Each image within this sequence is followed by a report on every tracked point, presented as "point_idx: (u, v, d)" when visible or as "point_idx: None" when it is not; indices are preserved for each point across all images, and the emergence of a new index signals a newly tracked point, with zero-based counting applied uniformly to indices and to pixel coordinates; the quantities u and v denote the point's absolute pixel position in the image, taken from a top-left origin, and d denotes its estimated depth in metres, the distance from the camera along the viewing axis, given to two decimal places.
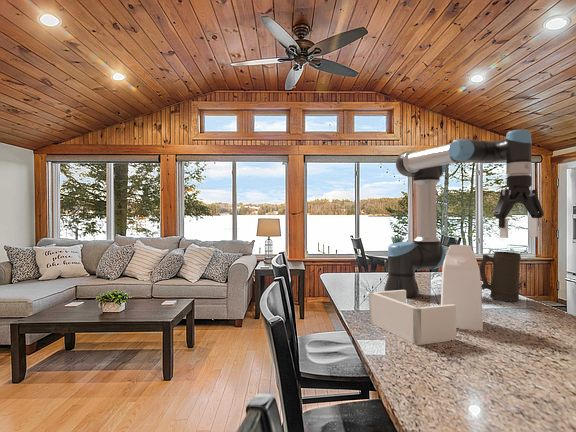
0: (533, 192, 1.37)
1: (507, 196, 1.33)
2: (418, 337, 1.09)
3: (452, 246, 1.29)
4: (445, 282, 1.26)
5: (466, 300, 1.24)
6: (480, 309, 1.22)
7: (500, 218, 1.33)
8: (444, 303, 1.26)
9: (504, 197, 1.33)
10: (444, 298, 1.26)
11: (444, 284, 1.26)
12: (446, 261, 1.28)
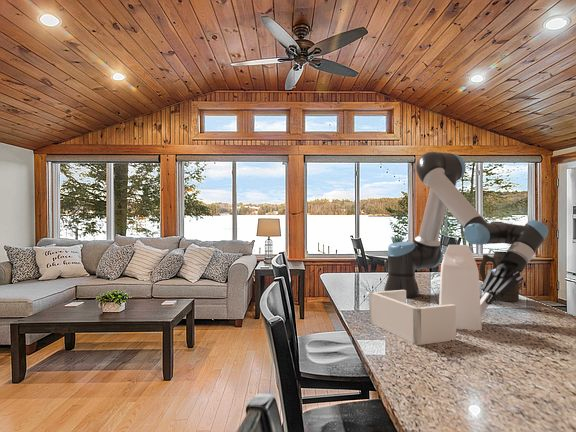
0: None
1: (489, 273, 1.39)
2: (418, 337, 1.09)
3: (450, 246, 1.29)
4: (443, 282, 1.26)
5: (464, 300, 1.24)
6: (479, 309, 1.22)
7: None
8: (443, 303, 1.26)
9: None
10: (443, 298, 1.26)
11: (443, 284, 1.26)
12: (445, 261, 1.28)
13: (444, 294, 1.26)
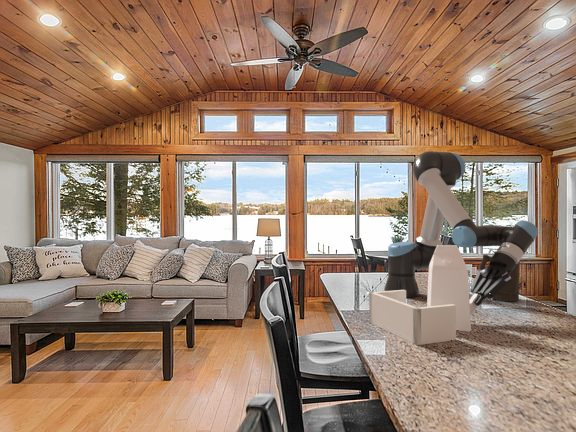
0: None
1: (478, 274, 1.38)
2: (418, 337, 1.09)
3: (439, 246, 1.28)
4: (433, 283, 1.24)
5: (454, 301, 1.23)
6: (468, 310, 1.22)
7: None
8: (432, 304, 1.24)
9: None
10: (432, 299, 1.24)
11: (432, 285, 1.24)
12: (434, 262, 1.26)
13: (434, 295, 1.24)
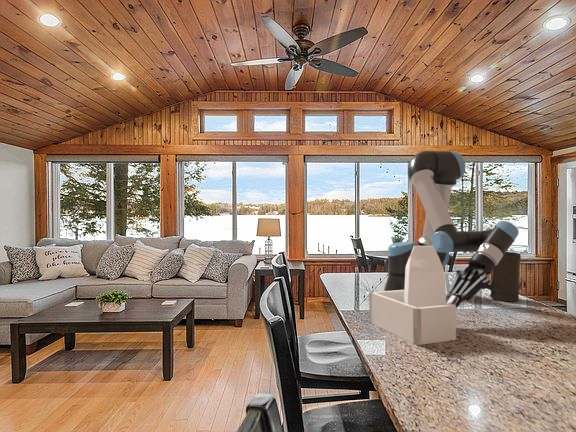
0: None
1: (457, 275, 1.35)
2: (418, 337, 1.09)
3: (416, 247, 1.26)
4: (410, 285, 1.22)
5: (431, 302, 1.21)
6: None
7: None
8: None
9: None
10: (409, 301, 1.22)
11: (409, 286, 1.22)
12: (411, 263, 1.24)
13: (411, 297, 1.22)
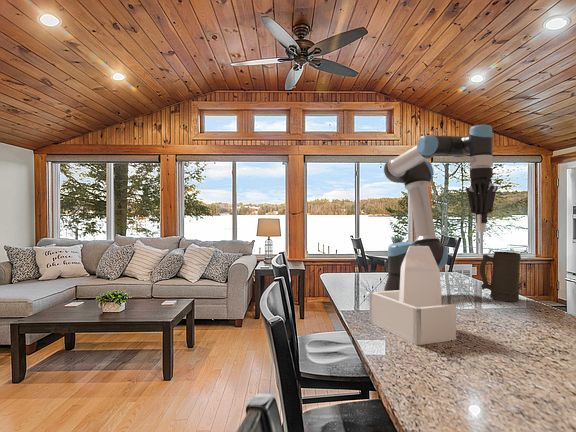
0: None
1: (468, 193, 1.49)
2: (418, 337, 1.09)
3: (411, 247, 1.26)
4: (405, 285, 1.22)
5: (426, 303, 1.21)
6: None
7: None
8: None
9: None
10: (405, 301, 1.22)
11: (405, 287, 1.22)
12: (406, 263, 1.24)
13: (406, 297, 1.22)
